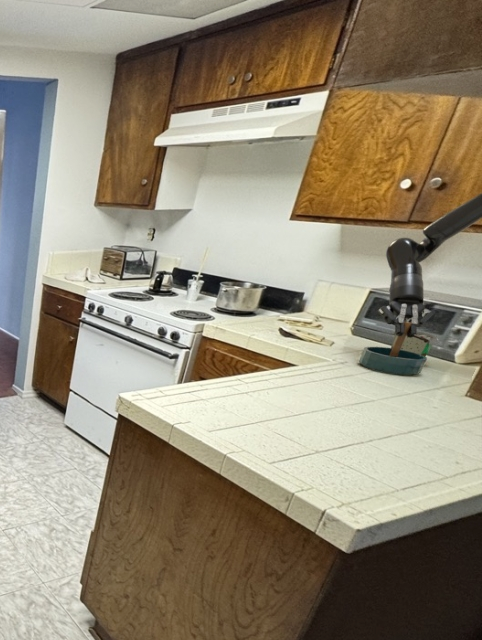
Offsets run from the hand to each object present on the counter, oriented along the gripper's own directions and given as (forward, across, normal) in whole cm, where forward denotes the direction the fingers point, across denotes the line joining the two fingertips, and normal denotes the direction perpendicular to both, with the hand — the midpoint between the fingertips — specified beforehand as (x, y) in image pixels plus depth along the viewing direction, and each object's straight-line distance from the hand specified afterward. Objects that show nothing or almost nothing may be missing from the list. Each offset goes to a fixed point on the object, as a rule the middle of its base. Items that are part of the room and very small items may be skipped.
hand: (405, 335), depth 148 cm
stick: (+6, 0, +9) cm, 11 cm away
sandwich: (-4, +10, +21) cm, 23 cm away
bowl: (+7, 0, +10) cm, 12 cm away
